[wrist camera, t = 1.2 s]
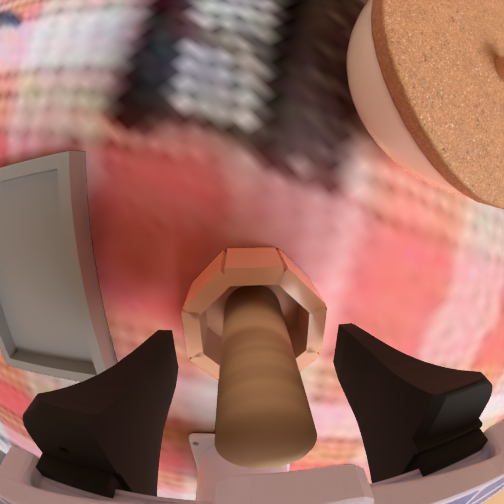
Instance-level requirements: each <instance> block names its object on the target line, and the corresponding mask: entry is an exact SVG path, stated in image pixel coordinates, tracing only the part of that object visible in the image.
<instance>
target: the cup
mask: <svg viewBox="0 0 504 504" xmlns="http://www.w3.org/2000/svg"><path fill="white" fill-rule="evenodd" d="M249 285H262V286H265V287H267V288H269V289H270V290H271V291H273V292H274V293H275V295H276V296H277V298H278V300H279V303H280V306H281V310H282V313H283V316H284V320H285V323H286V327H287V330H288V334H289V337H290V340H291V344H292V347H293V351H294V354H295V358H296V361H297V365H298V368H299V372H300V371H301V370H302V369H304V368H305V367H306V366H307V365H309V364H310V363H311V362H312V361H314V360H315V359H316V358H317V357H318V356H320V355H319V352H322V346H323V338H324V329H325V320H326V310H327V307H326V306H325V302H324V301H323V299H322V297H321V296H320V294H319V292H318V291H317V289H316V288H315V286H314V284H313V283H312V281H311V279H310V278H309V277H308V276H307V275H306V274H305V273H304V272H303V271H302V270H301V269H300V268H298V267H297V266H296V265H295V264H294V263H293V262H292V261H291V260H290V259H289V258H288V257H287V256H286V255H285V254H284V253H283V252H282V251H281V250H280V249H278V250H276V248H275V247H257V248H227V253H226V252H225V251H224V250H223V251H222V252H221V253H220V254H219V255H218V256H217V257H216V258H215V259H214V260H213V261H212V262H211V263H210V264H209V265H208V266H207V267H206V268H205V269H204V270H203V272H202V273H201V274H200V275H199V276H198V277H197V278H196V279H195V280H194V281H193V282H192V285H191V287H190V290H189V292H188V295H187V298H186V300H185V303H184V306H183V309H182V311H181V315H182V323H183V330H184V337H185V344H186V351H187V357H190V361H191V362H193V363H194V364H195V365H197V366H198V367H200V368H201V369H202V370H204V371H205V372H207V373H208V374H210V375H211V376H212V377H214V378H215V379H217V380H218V381H219V369H220V357H221V344H222V332H223V321H224V310H225V303H226V300H227V298H228V297H229V295H230V294H231V293H232V292H233V291H234V290H236V289H237V288H239V287H241V286H249Z"/></svg>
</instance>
